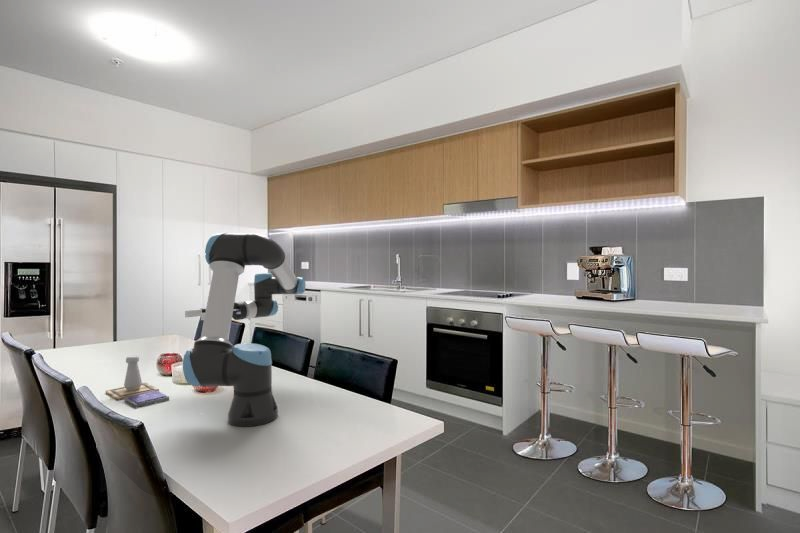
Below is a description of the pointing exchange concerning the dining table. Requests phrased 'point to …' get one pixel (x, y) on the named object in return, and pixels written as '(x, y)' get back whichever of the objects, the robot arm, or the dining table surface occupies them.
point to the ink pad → (146, 398)
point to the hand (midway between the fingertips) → (193, 315)
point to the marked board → (123, 393)
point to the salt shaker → (132, 374)
